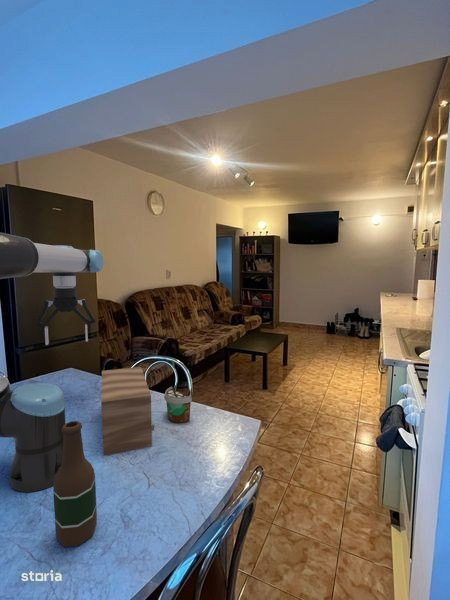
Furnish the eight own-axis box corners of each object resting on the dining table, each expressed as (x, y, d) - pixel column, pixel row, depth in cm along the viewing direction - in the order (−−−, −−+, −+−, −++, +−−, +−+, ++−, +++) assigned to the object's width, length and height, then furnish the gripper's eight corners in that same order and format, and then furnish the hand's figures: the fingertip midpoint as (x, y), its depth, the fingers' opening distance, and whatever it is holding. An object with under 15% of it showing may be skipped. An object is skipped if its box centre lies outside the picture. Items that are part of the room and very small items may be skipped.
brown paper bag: (151, 446, 96) (150, 395, 94) (103, 456, 91) (101, 402, 89) (141, 407, 122) (140, 366, 120) (103, 413, 117) (101, 370, 115)
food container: (157, 416, 115) (157, 390, 114) (171, 411, 119) (171, 386, 118) (178, 429, 106) (177, 401, 105) (192, 422, 111) (191, 396, 109)
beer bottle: (99, 538, 64) (95, 428, 61) (56, 556, 60) (49, 438, 57) (94, 512, 70) (90, 411, 68) (55, 526, 67) (49, 420, 64)
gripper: (100, 286, 126) (101, 337, 128) (27, 287, 116) (31, 343, 118) (100, 287, 119) (102, 341, 121) (24, 288, 109) (27, 348, 111)
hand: (67, 342), depth 119 cm, fingers open, 13 cm apart
